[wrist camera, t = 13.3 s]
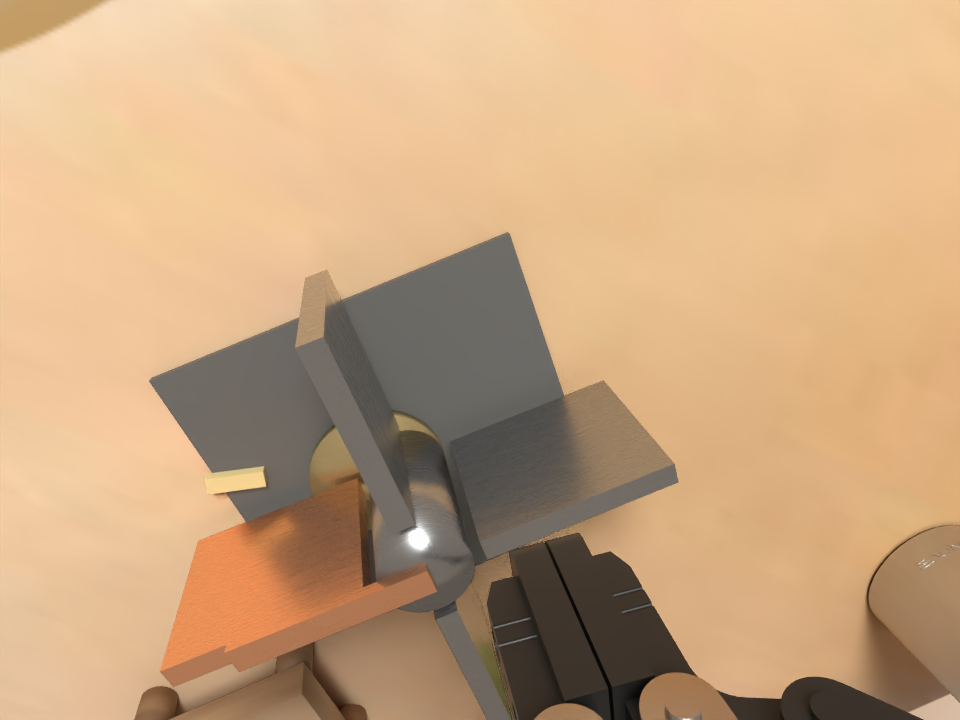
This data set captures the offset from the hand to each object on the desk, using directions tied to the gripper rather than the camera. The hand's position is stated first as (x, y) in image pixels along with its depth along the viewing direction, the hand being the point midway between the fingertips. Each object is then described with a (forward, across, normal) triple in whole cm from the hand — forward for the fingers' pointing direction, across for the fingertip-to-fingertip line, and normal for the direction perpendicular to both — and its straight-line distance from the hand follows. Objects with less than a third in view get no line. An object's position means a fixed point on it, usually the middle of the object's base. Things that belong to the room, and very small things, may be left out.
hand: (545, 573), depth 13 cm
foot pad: (+20, +3, +8) cm, 22 cm away
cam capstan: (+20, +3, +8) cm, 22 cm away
